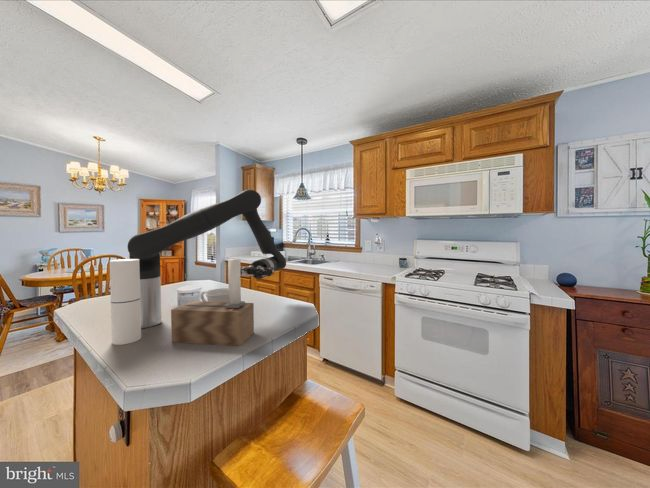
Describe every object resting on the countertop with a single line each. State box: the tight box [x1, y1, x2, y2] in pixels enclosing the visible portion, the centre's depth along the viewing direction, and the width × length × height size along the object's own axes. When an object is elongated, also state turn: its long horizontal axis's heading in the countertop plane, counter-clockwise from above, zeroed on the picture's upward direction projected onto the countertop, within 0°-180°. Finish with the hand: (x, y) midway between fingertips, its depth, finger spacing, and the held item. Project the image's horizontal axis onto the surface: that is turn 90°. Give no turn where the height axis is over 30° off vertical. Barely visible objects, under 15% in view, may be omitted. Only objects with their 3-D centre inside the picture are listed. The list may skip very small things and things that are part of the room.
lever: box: [224, 258, 246, 308], centre depth 78 cm, size 4×5×15 cm
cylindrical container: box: [109, 258, 142, 346], centre depth 77 cm, size 7×7×25 cm
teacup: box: [200, 287, 229, 302], centre depth 101 cm, size 12×15×10 cm
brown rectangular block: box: [170, 300, 255, 346], centre depth 80 cm, size 22×10×10 cm, turn 84°
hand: (245, 274), depth 86 cm, fingers open, 8 cm apart
